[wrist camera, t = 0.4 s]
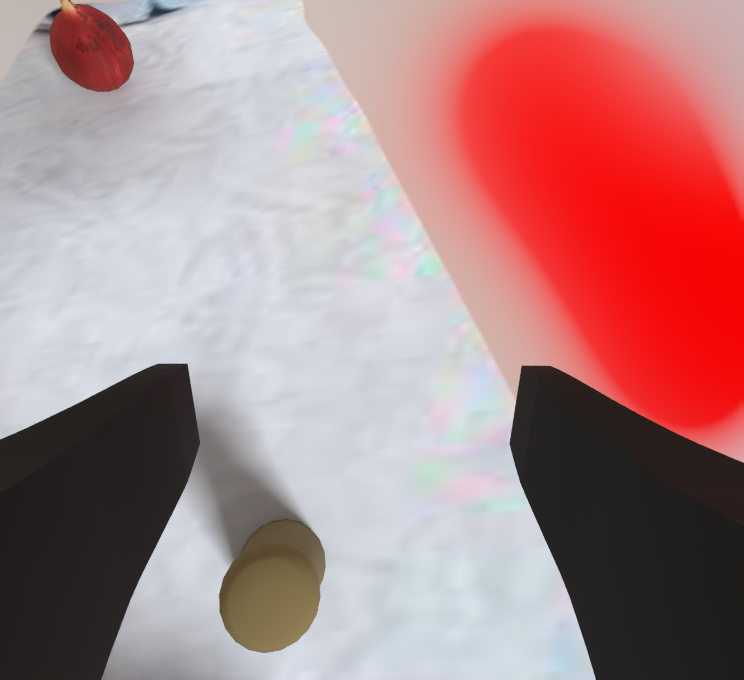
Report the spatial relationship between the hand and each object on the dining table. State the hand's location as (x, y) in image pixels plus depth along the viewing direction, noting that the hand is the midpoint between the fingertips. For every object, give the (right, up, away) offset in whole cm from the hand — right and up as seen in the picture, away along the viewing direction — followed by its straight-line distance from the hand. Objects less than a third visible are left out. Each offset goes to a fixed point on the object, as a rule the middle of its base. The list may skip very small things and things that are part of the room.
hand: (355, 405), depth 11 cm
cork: (-6, -14, +24) cm, 29 cm away
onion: (-23, +24, +33) cm, 47 cm away
